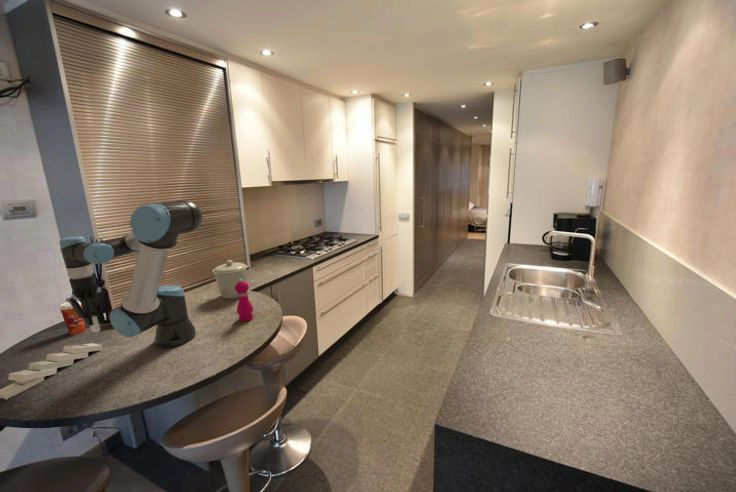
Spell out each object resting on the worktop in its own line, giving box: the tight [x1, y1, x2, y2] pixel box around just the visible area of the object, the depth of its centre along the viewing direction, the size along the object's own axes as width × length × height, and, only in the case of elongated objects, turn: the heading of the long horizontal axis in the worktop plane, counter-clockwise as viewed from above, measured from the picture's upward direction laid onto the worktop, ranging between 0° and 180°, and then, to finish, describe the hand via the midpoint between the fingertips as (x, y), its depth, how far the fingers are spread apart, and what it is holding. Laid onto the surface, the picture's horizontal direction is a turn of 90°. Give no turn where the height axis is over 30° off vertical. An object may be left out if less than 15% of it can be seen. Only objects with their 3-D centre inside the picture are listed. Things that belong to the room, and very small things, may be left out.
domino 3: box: [28, 359, 75, 371], centre depth 117 cm, size 6×2×10 cm
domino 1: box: [7, 368, 58, 382], centre depth 112 cm, size 6×2×10 cm
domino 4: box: [45, 351, 89, 362], centre depth 122 cm, size 6×2×10 cm
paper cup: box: [58, 300, 86, 336], centre depth 146 cm, size 8×8×14 cm
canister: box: [212, 259, 248, 300], centre depth 181 cm, size 18×18×21 cm
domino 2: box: [0, 376, 45, 400], centre depth 109 cm, size 6×2×10 cm
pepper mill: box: [235, 279, 254, 322], centre depth 152 cm, size 7×7×20 cm
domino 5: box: [62, 343, 104, 354], centre depth 127 cm, size 6×2×10 cm
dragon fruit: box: [105, 305, 121, 322], centre depth 156 cm, size 8×8×12 cm
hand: (96, 331), depth 131 cm, fingers closed
